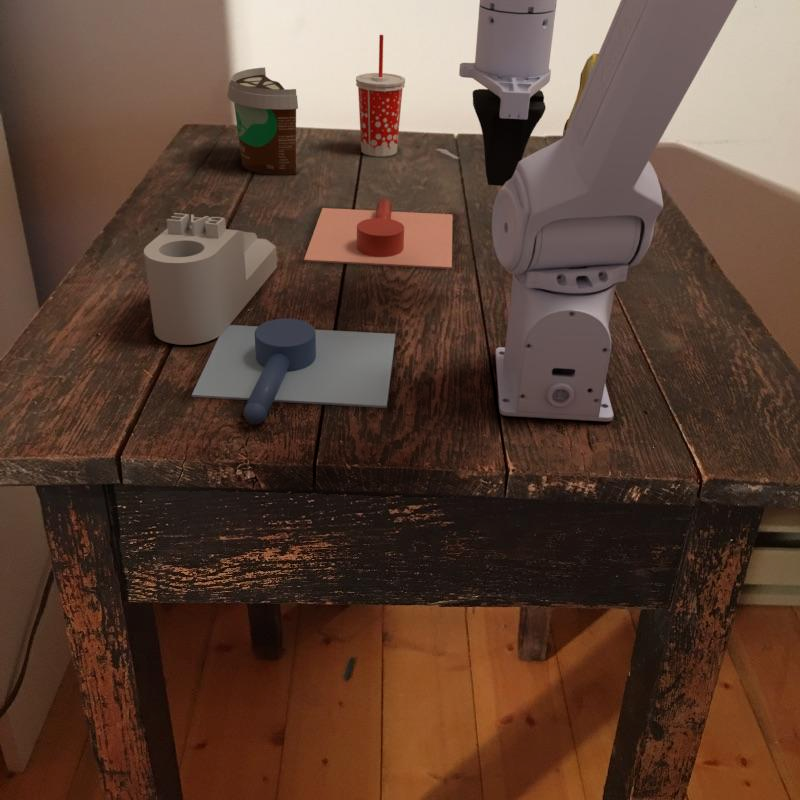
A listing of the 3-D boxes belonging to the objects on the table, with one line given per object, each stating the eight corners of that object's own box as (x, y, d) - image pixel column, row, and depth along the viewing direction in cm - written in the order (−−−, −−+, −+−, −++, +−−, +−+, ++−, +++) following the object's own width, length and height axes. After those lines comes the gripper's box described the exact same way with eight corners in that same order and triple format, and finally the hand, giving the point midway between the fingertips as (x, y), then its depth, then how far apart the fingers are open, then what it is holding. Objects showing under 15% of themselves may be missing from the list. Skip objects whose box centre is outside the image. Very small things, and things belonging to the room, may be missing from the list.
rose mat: (451, 269, 86) (451, 267, 86) (303, 261, 87) (303, 259, 87) (452, 216, 98) (452, 214, 98) (322, 209, 99) (322, 207, 98)
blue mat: (386, 408, 65) (386, 405, 65) (191, 397, 66) (191, 394, 66) (395, 336, 75) (395, 333, 74) (224, 326, 75) (224, 324, 75)
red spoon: (402, 258, 88) (403, 236, 86) (354, 256, 88) (355, 234, 87) (406, 212, 98) (406, 192, 97) (363, 210, 98) (363, 190, 97)
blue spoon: (264, 340, 73) (262, 315, 72) (321, 345, 72) (320, 320, 71) (219, 425, 62) (217, 398, 61) (286, 432, 62) (285, 404, 61)
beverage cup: (411, 149, 118) (416, 34, 111) (386, 161, 114) (389, 42, 106) (372, 141, 121) (374, 28, 113) (345, 152, 116) (345, 35, 109)
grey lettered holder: (281, 261, 86) (277, 178, 82) (210, 348, 71) (201, 251, 67) (224, 255, 87) (217, 173, 83) (142, 340, 72) (128, 244, 68)
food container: (219, 152, 114) (213, 69, 109) (267, 148, 117) (263, 66, 111) (249, 183, 105) (244, 94, 100) (300, 177, 107) (297, 90, 102)
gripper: (463, -12, 75) (452, 152, 82) (464, 23, 63) (451, 212, 70) (550, -8, 75) (531, 157, 82) (568, 28, 62) (543, 217, 70)
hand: (500, 182), depth 76 cm, fingers closed
